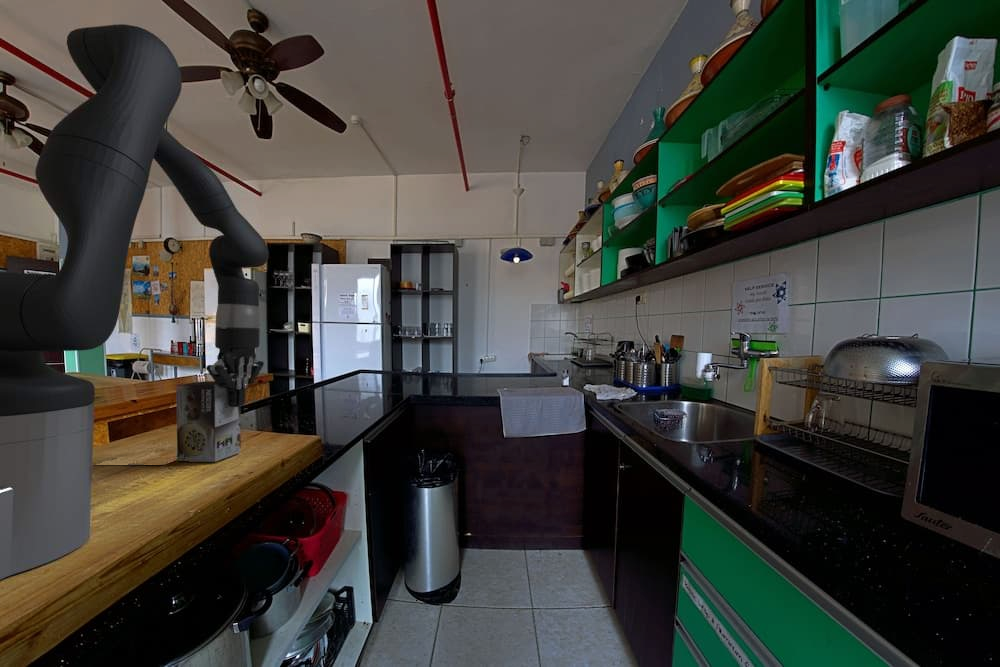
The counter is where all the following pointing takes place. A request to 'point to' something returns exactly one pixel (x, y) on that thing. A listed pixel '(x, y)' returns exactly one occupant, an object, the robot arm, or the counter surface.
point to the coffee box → (206, 423)
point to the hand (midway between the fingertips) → (236, 406)
